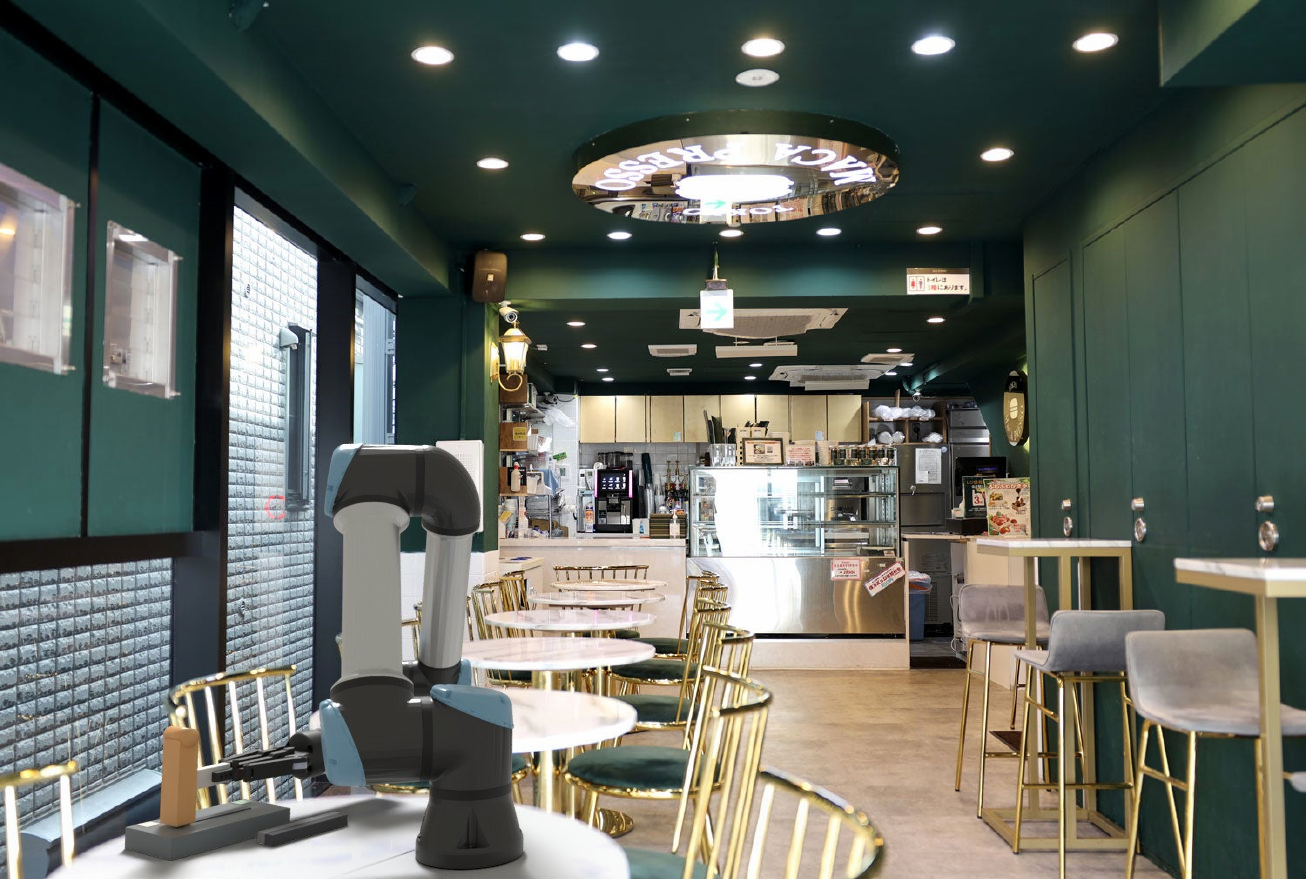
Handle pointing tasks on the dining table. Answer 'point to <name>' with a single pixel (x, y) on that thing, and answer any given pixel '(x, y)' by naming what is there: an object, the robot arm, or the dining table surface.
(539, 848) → the dining table surface
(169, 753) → the handle
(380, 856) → the dining table surface
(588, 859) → the dining table surface
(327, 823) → the grooved grey bar
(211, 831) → the base
